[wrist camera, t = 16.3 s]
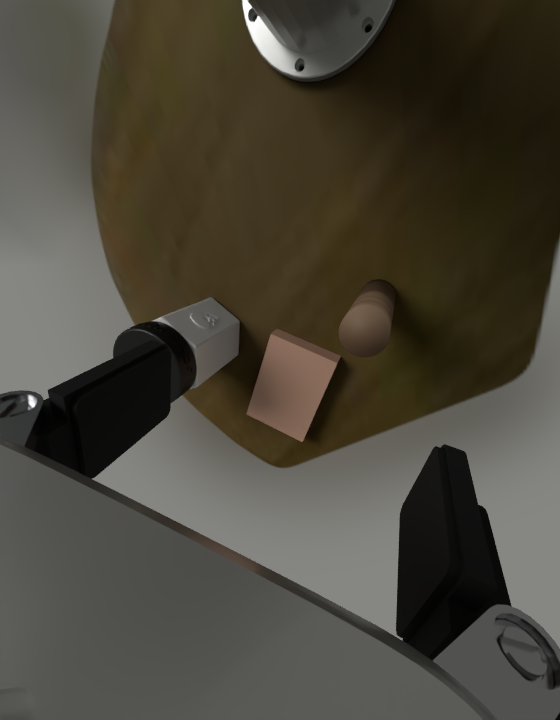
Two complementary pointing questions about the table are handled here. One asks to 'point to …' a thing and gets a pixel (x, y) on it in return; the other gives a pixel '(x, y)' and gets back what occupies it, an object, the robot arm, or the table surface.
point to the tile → (291, 383)
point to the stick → (369, 320)
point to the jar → (189, 342)
